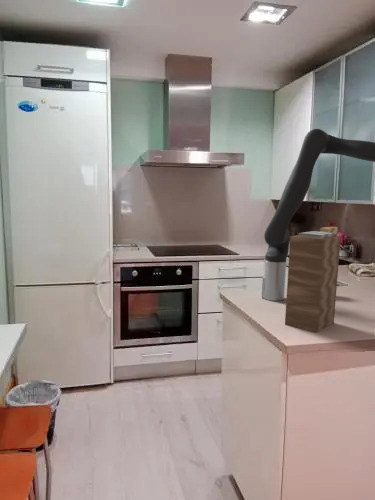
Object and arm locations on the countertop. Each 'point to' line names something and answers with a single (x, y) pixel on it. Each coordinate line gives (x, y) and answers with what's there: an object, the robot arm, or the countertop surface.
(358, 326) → the countertop surface
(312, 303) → the plinth
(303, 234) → the rectangular straight-edged part
